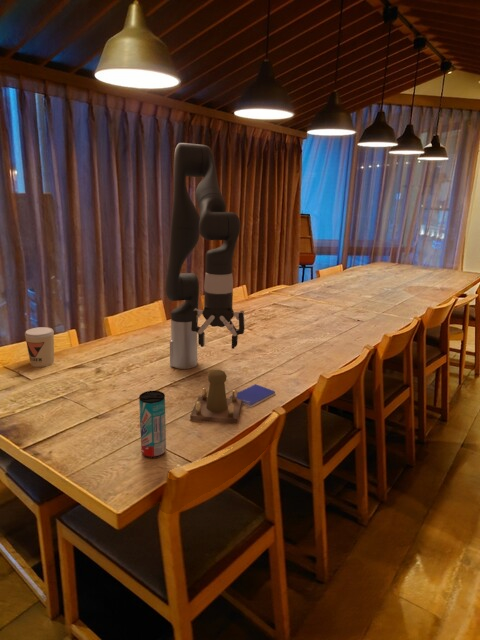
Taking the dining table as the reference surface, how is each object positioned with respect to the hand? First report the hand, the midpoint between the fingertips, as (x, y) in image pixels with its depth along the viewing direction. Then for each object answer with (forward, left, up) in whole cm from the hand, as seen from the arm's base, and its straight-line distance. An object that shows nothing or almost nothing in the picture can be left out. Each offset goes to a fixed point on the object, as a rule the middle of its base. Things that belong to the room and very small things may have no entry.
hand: (217, 346), depth 124 cm
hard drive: (+10, +11, -21) cm, 25 cm away
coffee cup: (-67, +26, -20) cm, 75 cm away
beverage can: (-12, -23, -20) cm, 32 cm away
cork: (0, 0, -19) cm, 19 cm away
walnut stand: (0, 0, -20) cm, 20 cm away
